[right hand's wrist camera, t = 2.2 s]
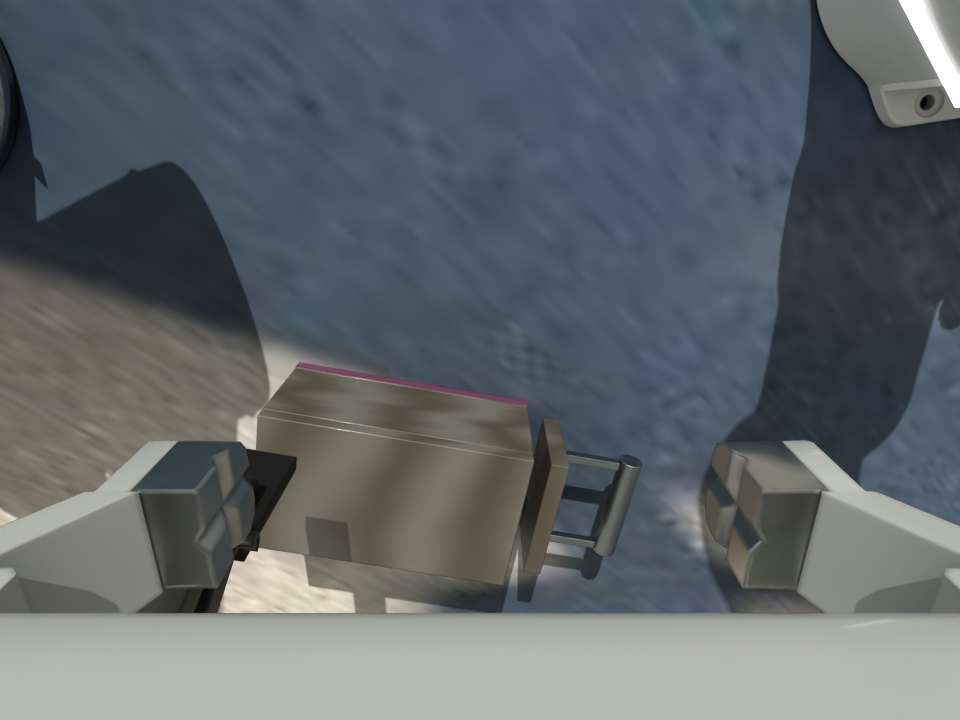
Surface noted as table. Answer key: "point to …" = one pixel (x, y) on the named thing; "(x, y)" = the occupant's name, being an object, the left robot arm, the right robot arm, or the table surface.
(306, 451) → the cabinet
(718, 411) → the table surface
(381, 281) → the table surface
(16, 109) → the left robot arm
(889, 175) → the table surface
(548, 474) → the drawer
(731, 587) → the table surface
